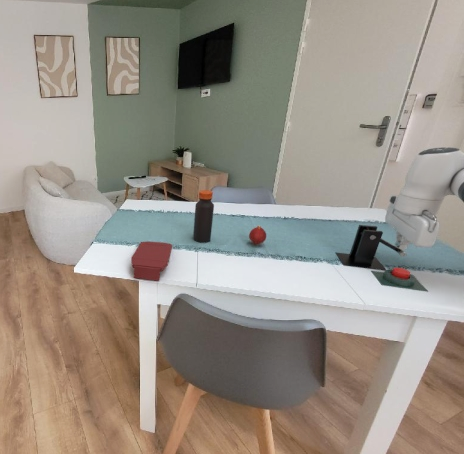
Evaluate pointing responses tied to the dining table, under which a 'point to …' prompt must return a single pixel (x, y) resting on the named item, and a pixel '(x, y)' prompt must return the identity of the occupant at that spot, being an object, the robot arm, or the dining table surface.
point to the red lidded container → (150, 259)
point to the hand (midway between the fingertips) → (400, 247)
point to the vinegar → (203, 217)
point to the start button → (400, 273)
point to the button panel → (398, 281)
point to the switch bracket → (364, 249)
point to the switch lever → (390, 245)
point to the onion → (257, 235)
